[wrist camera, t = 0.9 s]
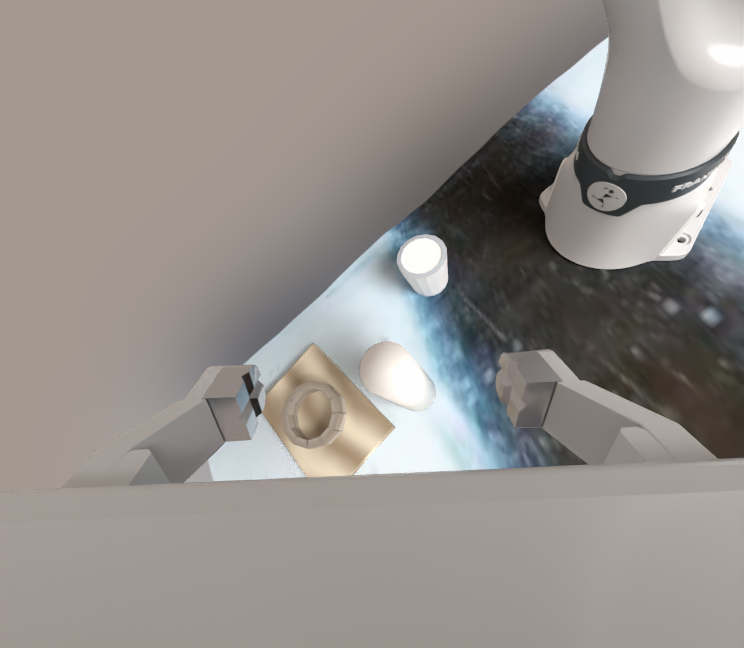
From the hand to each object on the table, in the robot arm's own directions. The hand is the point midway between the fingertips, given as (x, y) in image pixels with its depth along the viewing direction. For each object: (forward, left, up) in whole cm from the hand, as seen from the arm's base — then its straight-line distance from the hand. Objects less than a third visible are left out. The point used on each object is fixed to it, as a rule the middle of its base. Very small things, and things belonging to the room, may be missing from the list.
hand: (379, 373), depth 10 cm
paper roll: (0, -7, -32) cm, 33 cm away
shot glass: (-14, -17, -33) cm, 39 cm away
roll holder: (+12, -15, -32) cm, 38 cm away
